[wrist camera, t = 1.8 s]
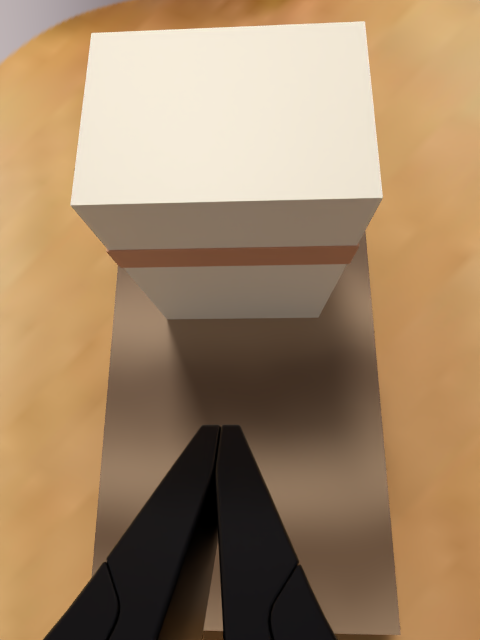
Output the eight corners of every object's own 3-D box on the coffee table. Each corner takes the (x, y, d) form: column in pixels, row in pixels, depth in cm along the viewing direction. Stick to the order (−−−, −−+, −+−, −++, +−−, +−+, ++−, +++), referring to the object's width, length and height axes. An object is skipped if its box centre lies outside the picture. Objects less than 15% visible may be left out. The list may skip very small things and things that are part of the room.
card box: (319, 318, 19) (385, 199, 9) (165, 320, 19) (67, 207, 9) (314, 218, 20) (366, 19, 10) (171, 221, 20) (89, 31, 10)
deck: (374, 597, 19) (400, 635, 15) (117, 592, 19) (87, 628, 16) (348, 239, 23) (363, 207, 20) (141, 243, 24) (122, 213, 20)
